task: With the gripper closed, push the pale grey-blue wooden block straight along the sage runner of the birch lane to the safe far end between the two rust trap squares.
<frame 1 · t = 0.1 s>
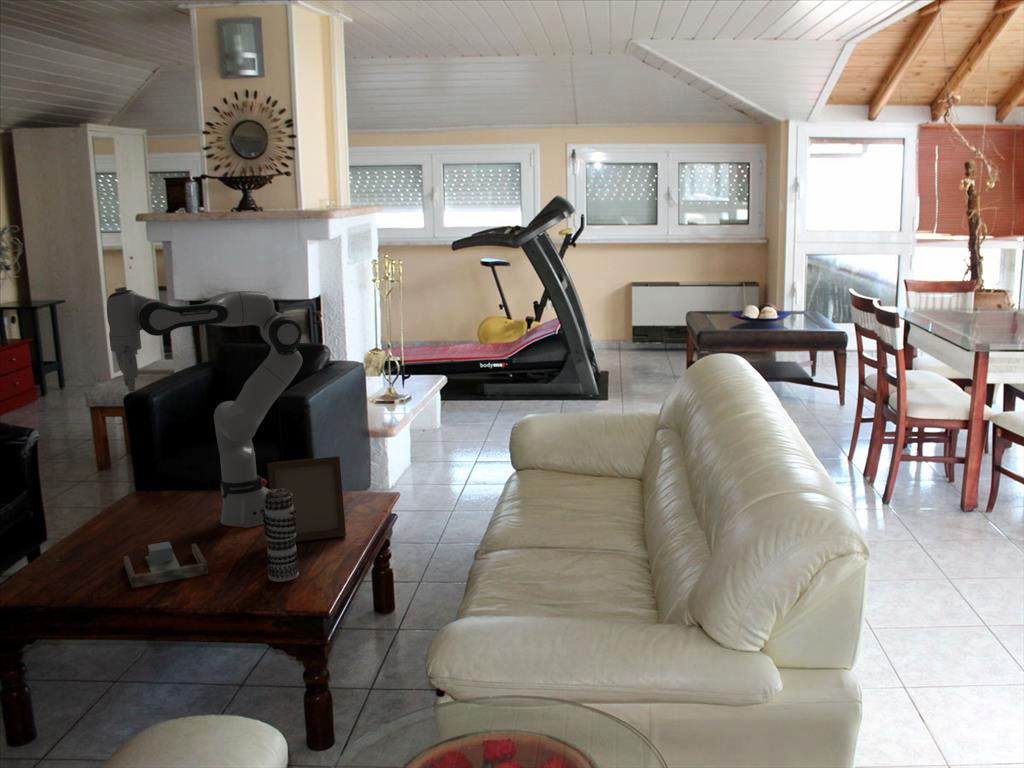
hand: (130, 388, 305), 48 cm above the table, tool pointing down, fingers open, 8 cm apart
photo frame: (308, 536, 312), on the table
decorative candle: (283, 576, 280), on the table
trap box: (166, 570, 286), on the table
block: (161, 559, 294), resting on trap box
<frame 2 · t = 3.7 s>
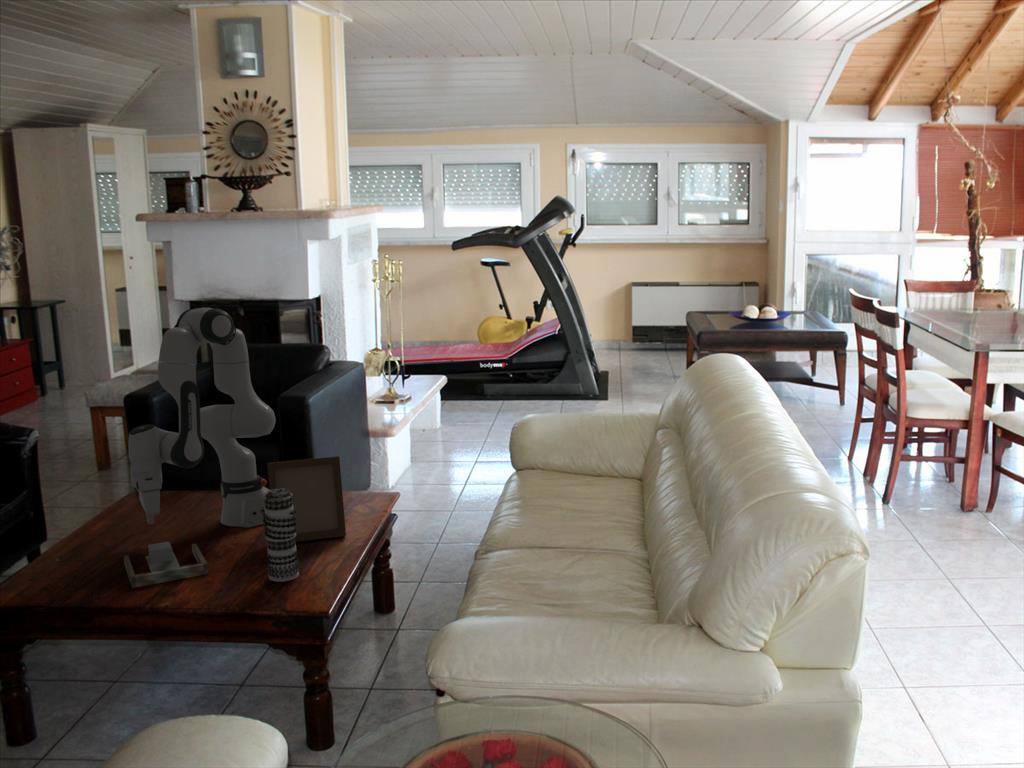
hand: (150, 522, 303), 8 cm above the table, tool pointing down, fingers closed
nothing on the table moved.
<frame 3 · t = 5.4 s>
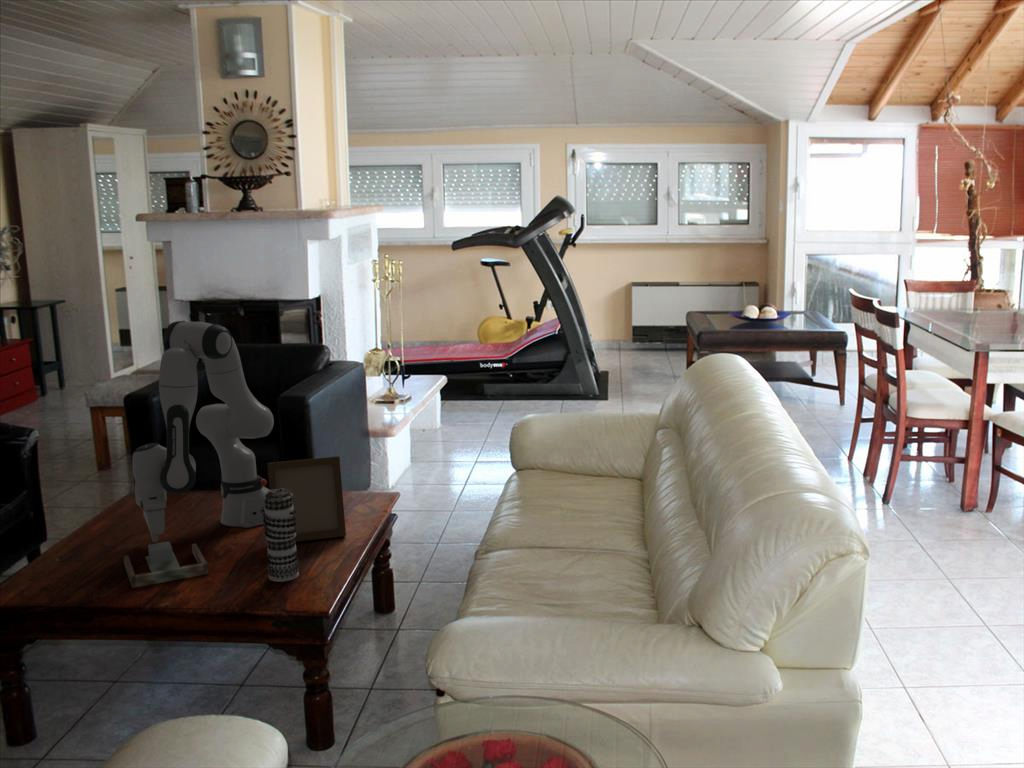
hand: (155, 540, 303), 3 cm above the table, tool pointing down, fingers closed
nothing on the table moved.
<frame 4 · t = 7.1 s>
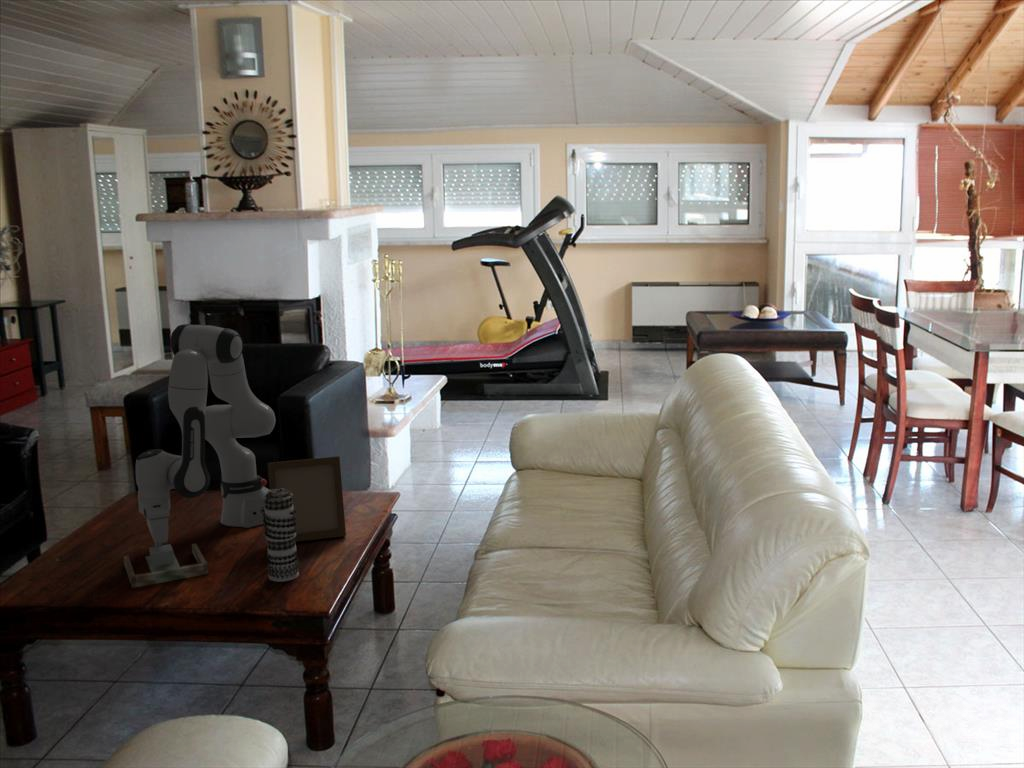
hand: (158, 549, 295), 3 cm above the table, tool pointing down, fingers closed
block: (162, 561, 292), resting on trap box, touching gripper
everything else where it was.
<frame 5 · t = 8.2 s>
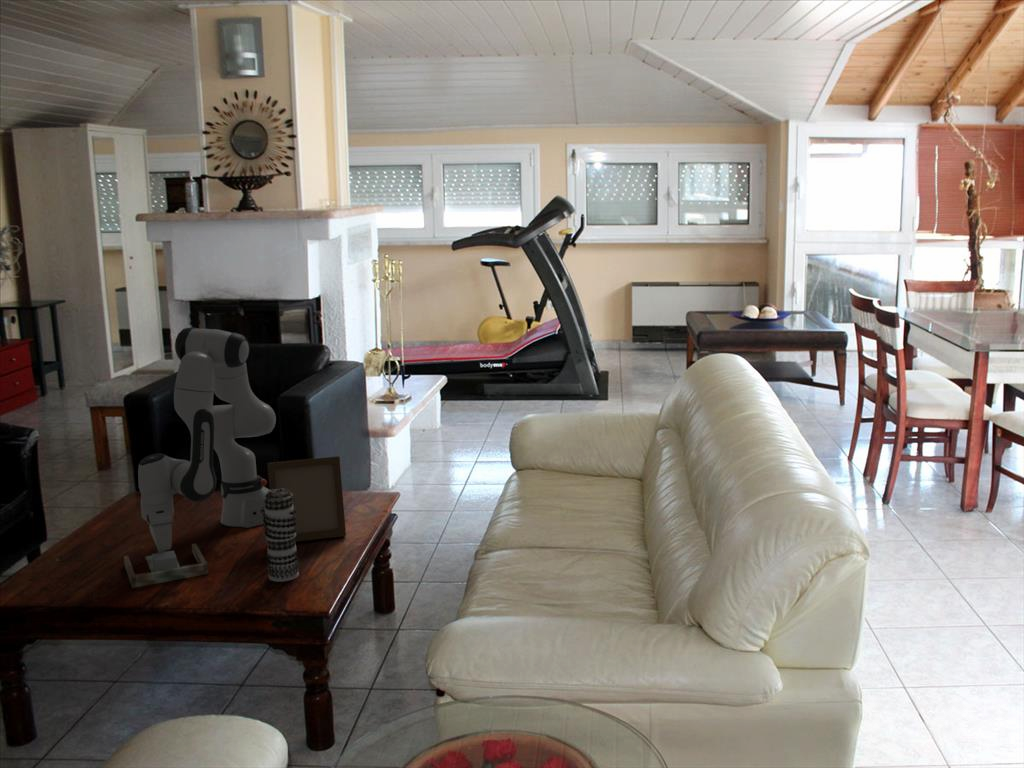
hand: (161, 555, 290), 3 cm above the table, tool pointing down, fingers closed
block: (165, 568, 287), resting on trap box, touching gripper
everything else where it was.
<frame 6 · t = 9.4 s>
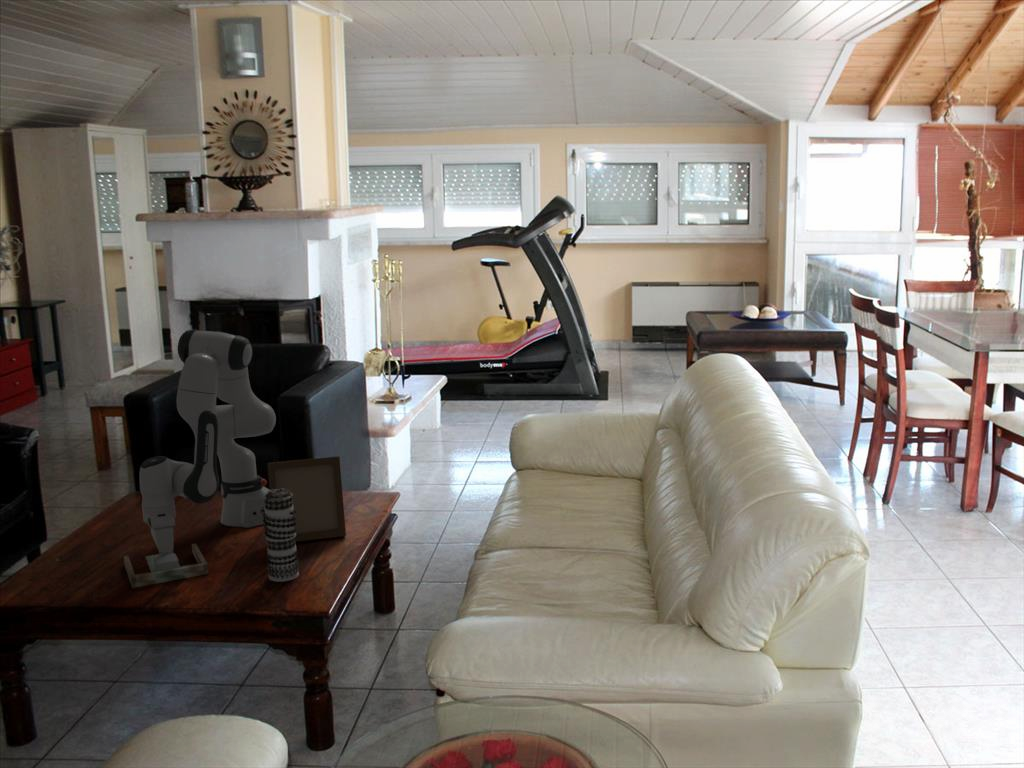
hand: (163, 558, 287), 3 cm above the table, tool pointing down, fingers closed
block: (167, 571, 284), resting on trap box, touching gripper
everything else where it was.
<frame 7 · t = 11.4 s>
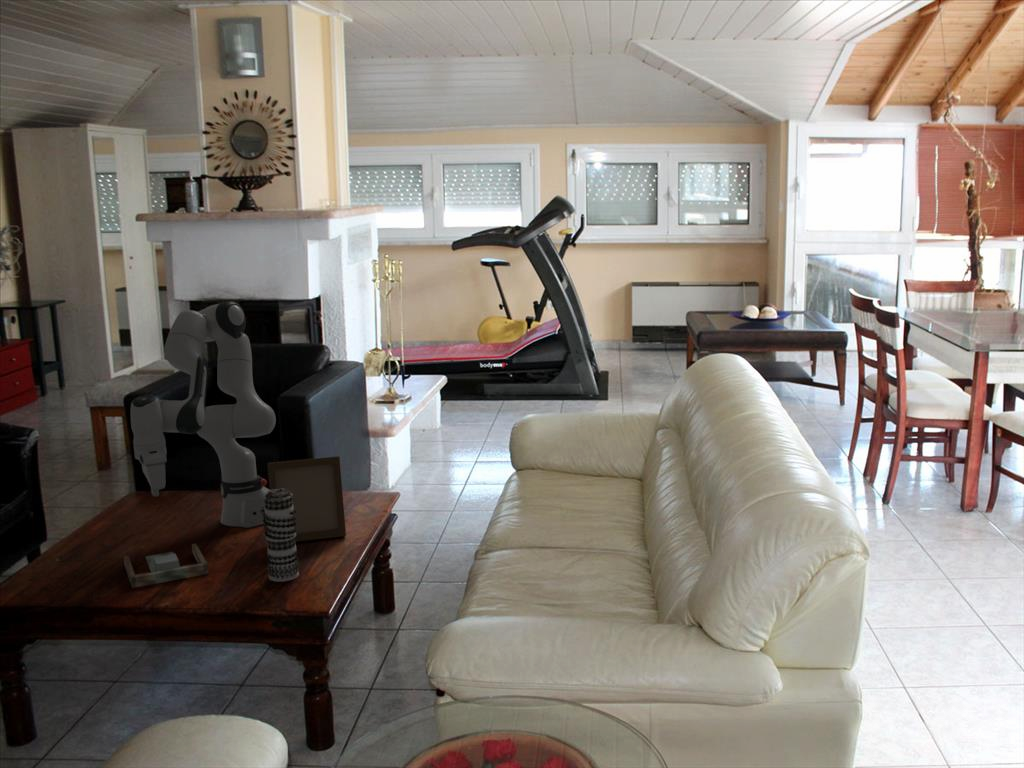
hand: (155, 494, 295), 19 cm above the table, tool pointing down, fingers closed
block: (167, 571, 284), resting on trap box
everything else where it was.
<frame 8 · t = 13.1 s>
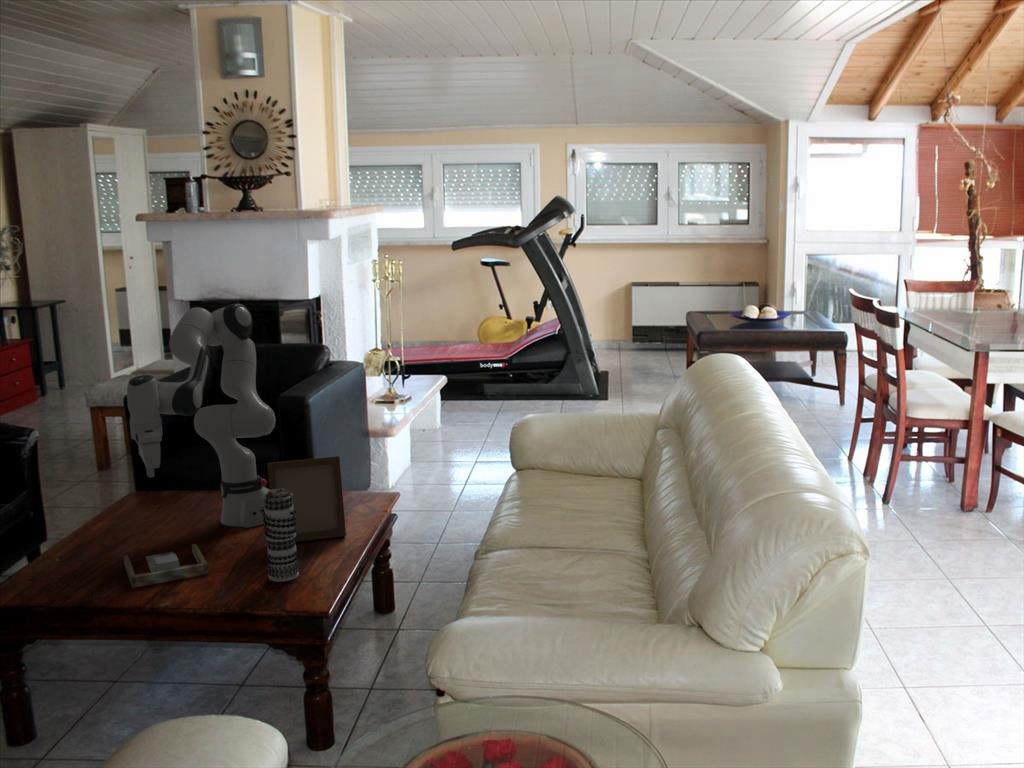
hand: (150, 476, 295), 24 cm above the table, tool pointing down, fingers closed
nothing on the table moved.
at the end: block inside the target area (1.2 cm from its centre), resting on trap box; block tilted 0°; block moved 11.6 cm from its start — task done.
